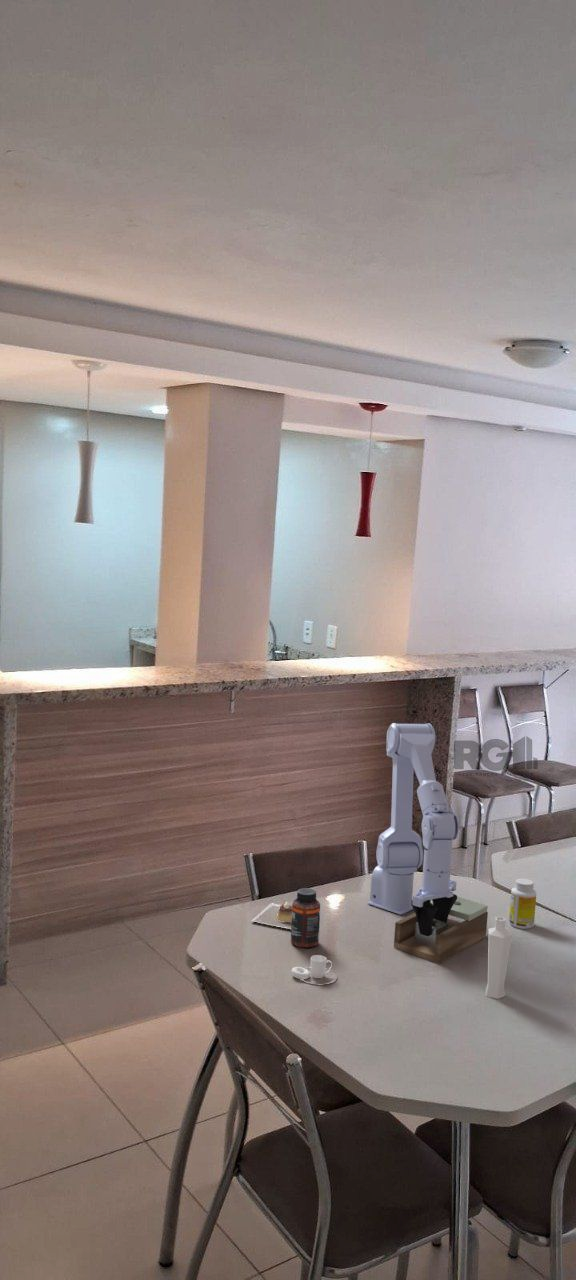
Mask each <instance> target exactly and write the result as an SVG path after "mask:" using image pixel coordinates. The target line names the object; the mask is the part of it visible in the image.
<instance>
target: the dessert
mask: <svg viewBox="0 0 576 1280" xmlns="http://www.w3.org/2000/svg"><path fill="white" fill-rule="evenodd" d="M272 906H277V907H279V909H278V911H277V914H276V917H275V919H276V918H277V919H278V920H280V921H284V922H292V905H290V904H289V902H288V901H285V902H283V903H282V904H278V903H272V902H270V903H269V904H268V905H267V906H266V907H265V908H264V909H263V910H262V911H261V912H259V913H258V914H257V915H256V916H254V918H252V919H251V920H250V921H251V922H252V923H254V922H257V921H255V920H256V919H257V918H259V916H260V915H262V914H263V913H264V912H265V911H266V910H268V909H269V908H271V907H272ZM258 923H261V924H260V925H263V924H266V925H265V926H268V925H271V926H270V927H273V926H276V927H275V928H277V927H281V928H280V929H282V928H286V929H285V930H287V929H290V930H289V931H291V928H290V927H285V926H280V925H274V924H270V923H265V922H261V921H259V922H257V923H256V924H258Z"/></svg>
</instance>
